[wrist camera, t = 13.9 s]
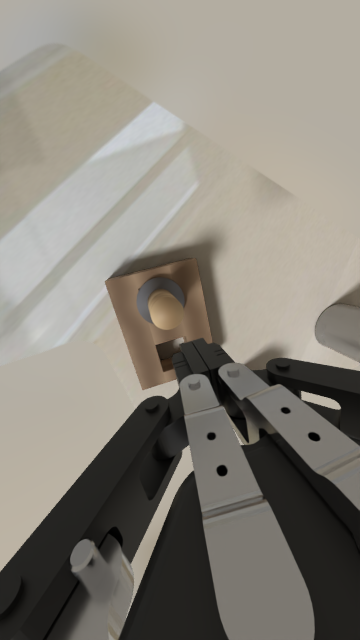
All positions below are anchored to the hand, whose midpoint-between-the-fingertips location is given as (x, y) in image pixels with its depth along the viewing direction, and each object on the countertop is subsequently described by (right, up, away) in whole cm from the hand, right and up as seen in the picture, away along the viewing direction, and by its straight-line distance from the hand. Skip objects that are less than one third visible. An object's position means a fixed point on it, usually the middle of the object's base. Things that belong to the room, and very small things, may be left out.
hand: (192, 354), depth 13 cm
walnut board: (-4, +2, +23) cm, 23 cm away
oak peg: (-4, +6, +21) cm, 22 cm away
